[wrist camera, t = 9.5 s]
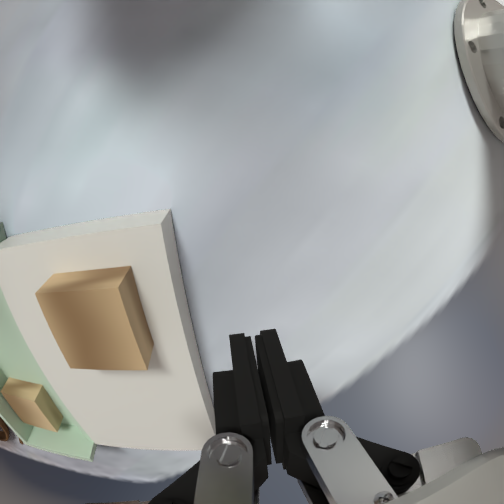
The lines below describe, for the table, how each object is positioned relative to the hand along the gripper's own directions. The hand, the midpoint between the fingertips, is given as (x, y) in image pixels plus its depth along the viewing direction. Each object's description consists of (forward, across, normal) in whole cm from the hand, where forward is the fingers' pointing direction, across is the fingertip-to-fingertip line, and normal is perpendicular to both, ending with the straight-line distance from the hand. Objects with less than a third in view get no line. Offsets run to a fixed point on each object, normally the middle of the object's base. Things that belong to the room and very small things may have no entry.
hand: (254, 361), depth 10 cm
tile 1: (+4, +7, -1) cm, 8 cm away
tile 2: (+4, +20, +10) cm, 23 cm away
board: (+6, +8, +4) cm, 12 cm away
